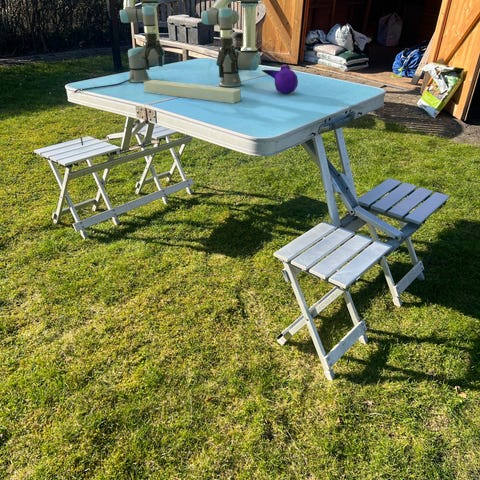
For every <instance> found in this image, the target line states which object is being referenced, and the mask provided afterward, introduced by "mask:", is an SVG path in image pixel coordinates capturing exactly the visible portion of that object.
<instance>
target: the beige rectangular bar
mask: <svg viewBox="0 0 480 480" xmlns="http://www.w3.org/2000/svg"><path fill="white" fill-rule="evenodd" d="M143 89H144V93H148V94H154V95H155V94H156V95H157V94H158V95H164V96H173V97H180V98H188V99H195V100H204V101H211V102H218V103H226V104H236V103H238V102H241V100H242V89H239V88H233V87H222V86H212V85H203V84H194V83H186V82H176V81H167V80H158V79H150V80H149V81H146V82H143Z"/></svg>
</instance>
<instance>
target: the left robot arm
mask: <svg viewBox="0 0 480 480" xmlns="http://www.w3.org/2000/svg"><path fill="white" fill-rule="evenodd" d="M159 2H161V0H123V8H122V9H120V10H119V17H120V22H121V23H126V24H129V23H143V32H144V39H145V42H142V46H138V47H132V48H130V49H128V50H127V56H128V64H129V65H128V66H129V76H128V79H127V80H123V81H121V82H118V83H112V84H106V85H100V86H92V87H84V88H76V89H75V90H74V94H76V93H77V92H80V91H81V92H82V91H88V90H93V89H101V88H108V87H114V86H120V85H123V84H125V83H127V82H129V83H133V84H141V83H143V84H144V82H146V81H149V80H151V79H150V76H149V73H148V71H150V69H151V68H150V67H153V66H155V67H157V66H158V67H159V68H161V67H163V65H165V48H164V47H163V45H162V44H161V41H160V32H159V22H158V21H159V19H158V11H157V7H158V6H159ZM136 3H141V6H142V7H141V8H136ZM81 89H82V90H81ZM80 142H81V143H80V144H81V146H84V142H83V137H82V136H80Z"/></svg>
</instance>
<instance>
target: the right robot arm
mask: <svg viewBox="0 0 480 480" xmlns="http://www.w3.org/2000/svg"><path fill="white" fill-rule="evenodd" d="M261 1H262V0H215V1H214V2H213V3H212V5H211V7H210V8H209V9H208V10H203V11H202V12H201V14H200V19H201V23H202V24H203V25H208V26H212V25H214V26H216V25H217V26H218V25H219V37H220V39H219V43H220V46H221V47H218V54H217V57H216V66H217V67H218V73H219V74H218V76H219V78H220V81H219V87H223V88H238V87H241V86H242V79H241V77H240V73H239V71H249V72H254V71H257V70H258V68H259V66H260V63H261V53H260V52H258V48H257V47H256V29H257V27H256V26H257V25H256V24H257V20H256V19H257V7H258V5H259V2H261ZM233 2H240V6H241V7H242V47H241V48H240V51H239V49H235V46H236V45H234V38H233V36H234V34H233V33H234V31H233V30H234V27H233V25H236V24H238V22H239V21H240V14H239V12H238V11H237V10H234V9H232V7H228V6H229V5H230V4H232V3H233Z"/></svg>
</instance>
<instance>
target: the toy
mask: <svg viewBox="0 0 480 480" xmlns="http://www.w3.org/2000/svg"><path fill="white" fill-rule="evenodd" d="M261 72H263V74H266V75H267V76H270V77H271V78H273V79H274V86H275V87H274V88H275V89H276V91H277V92H279V94H284V95H291V94H292V93H294V92H295V91H296V89H297V88H298V85H299V79H298V75H297V74H296V73H295V71H294V70H292V69H291V67H290V65H288V64H285V65H283V66H281V67H280V70H276V69H275V70H274V69H261Z"/></svg>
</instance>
